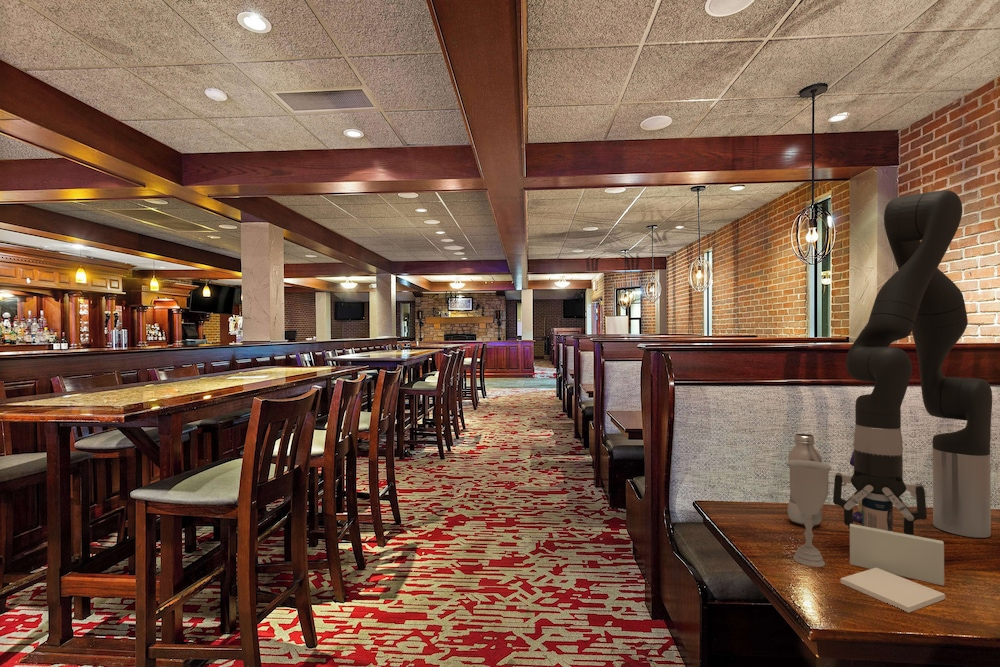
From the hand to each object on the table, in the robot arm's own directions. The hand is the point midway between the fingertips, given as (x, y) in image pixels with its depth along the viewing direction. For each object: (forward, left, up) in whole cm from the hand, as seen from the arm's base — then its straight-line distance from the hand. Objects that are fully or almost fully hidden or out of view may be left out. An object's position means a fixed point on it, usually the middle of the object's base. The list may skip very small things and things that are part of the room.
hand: (877, 533), depth 96 cm
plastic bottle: (-2, -16, -4) cm, 17 cm away
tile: (+13, +9, -4) cm, 17 cm away
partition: (+6, +6, -4) cm, 9 cm away
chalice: (+15, -4, -4) cm, 16 cm away
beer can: (0, 0, -4) cm, 4 cm away
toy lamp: (-16, -12, -4) cm, 21 cm away
